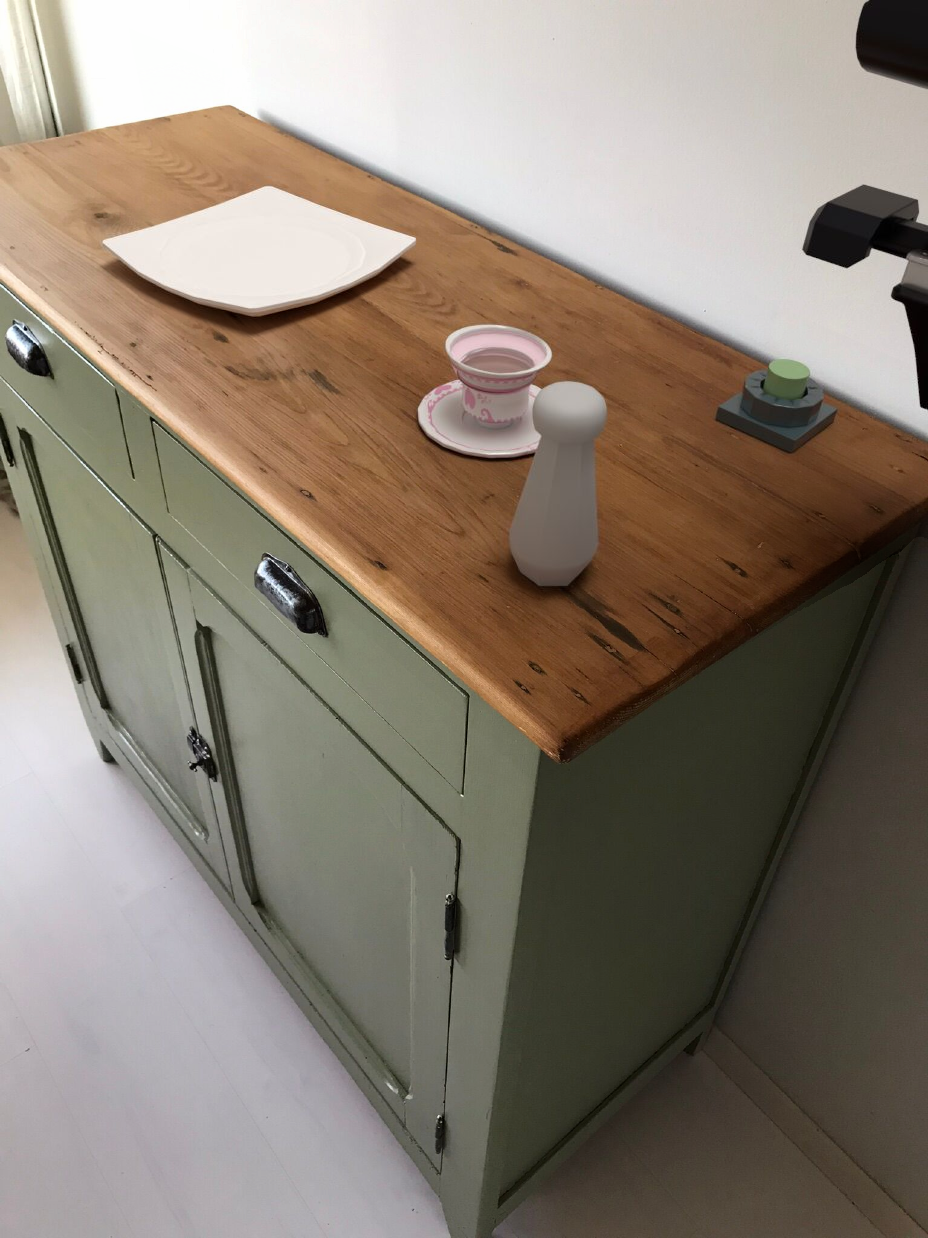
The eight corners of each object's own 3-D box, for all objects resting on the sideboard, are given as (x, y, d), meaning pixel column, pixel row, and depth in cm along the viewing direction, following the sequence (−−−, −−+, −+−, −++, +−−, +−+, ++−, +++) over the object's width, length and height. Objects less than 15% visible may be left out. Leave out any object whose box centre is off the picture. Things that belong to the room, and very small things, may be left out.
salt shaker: (548, 608, 61) (571, 431, 52) (488, 563, 64) (500, 388, 55) (611, 571, 63) (642, 397, 55) (550, 530, 67) (571, 358, 58)
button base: (833, 421, 79) (844, 388, 77) (791, 453, 75) (801, 420, 73) (759, 389, 82) (768, 357, 80) (715, 419, 78) (722, 386, 76)
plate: (255, 346, 85) (252, 317, 83) (89, 267, 96) (83, 241, 94) (433, 264, 99) (434, 238, 97) (271, 204, 110) (269, 180, 108)
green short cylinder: (810, 392, 77) (817, 368, 75) (790, 406, 75) (797, 382, 74) (775, 377, 78) (781, 354, 77) (755, 391, 77) (761, 367, 75)
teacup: (595, 417, 78) (605, 347, 73) (504, 480, 71) (509, 406, 67) (481, 368, 83) (484, 300, 79) (386, 421, 76) (384, 349, 72)
